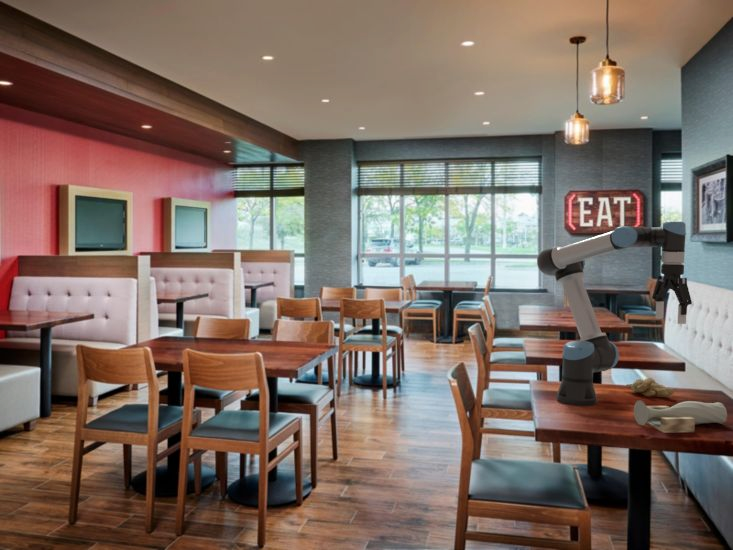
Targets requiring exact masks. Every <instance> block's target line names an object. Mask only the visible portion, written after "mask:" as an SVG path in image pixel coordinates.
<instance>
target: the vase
mask: <svg viewBox="0 0 733 550" xmlns="http://www.w3.org/2000/svg"><path fill="white" fill-rule="evenodd" d="M633 405H634V406H633V416H634V419H635V421H636V422H637V424H638V425H639V426H645V424H646V422H647V420H648V419H650V418H652V417H655V416H666V417H692V418H695V426H696V425H701V424H713V423H717V424H721V425H722V424H724V423H726V421H727V418H728V413H727V408H726V407H725V405H724V403H721V402H719V401H717V402H713V403H712V402H703V401H697V400H696V401H695V400H694V401H693V400H688V401H686V400H685V401H682V402H678V403H676V404H674V405H672V406H671V407H670V406H669V407H670V408H667V409H662V410H657V409H652V408H650V407H647V406H648V405H646V403H645V402H644V401H643V400H637V401H636V402H635V404H633Z"/></svg>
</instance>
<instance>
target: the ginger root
mask: <svg viewBox="0 0 733 550" xmlns="http://www.w3.org/2000/svg"><path fill="white" fill-rule="evenodd" d="M625 387H627V388H628V389H631V390H632V392H633V393H634V394H638V393H639V394H641V395H643V396H644V397H647V398H648V397H658V398H660V397H661V398H666V397H670V396H672V395H674V393H675V391H674V389H673V387H671V386H670V387H667V386H664V385H663V384H659V383H658V382H656V381H655V380H654V379H653V378H652V377H648V378H644V379H640V378H638V379H636V380H635V381H634V382H633V383H630V384H629V383H628V384H626V385H625Z"/></svg>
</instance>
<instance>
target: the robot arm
mask: <svg viewBox="0 0 733 550" xmlns="http://www.w3.org/2000/svg"><path fill="white" fill-rule="evenodd" d="M686 229H687V228H686V222H684V221H664V222H663V223H662V226H657V227H653V226H631V225H630V226H629V225H623V226H617V227H616V228H615V229H614V230H611V231H609V232H606V233H603V234H599V235H596V236H593V237H589V238H587V239H584V240H581V241H577V242H574V243H570V244H567V245H565V246H559V245H556V246H552V247H549V248H546V249H544V250H542V251H541V252H540V253H539V254H538V256H537V259H536V265H537V267H538V270H539V271H540V272H541V273H543V274H544V275H546V276H549V277H552V276H554V278H555V280H556V283H557V284H559V285H561V286H562V289H563V292H564V295H565V298H566V301H567V304H568V306H569V309H570V312H571V315H572V318H573V321H574V323H575V326H576V329H577V332H578V334H579V335H578V336H579V337H580V339H579V340H572V341H568V342H566V343H564V345H563V347H562V353H561V355H562V365H561V367H562V369H561V382H560V385H559V387H558V390H557V393H556V400H557V401H558V402H560V403H563V404H566V405H571V406H583V407H584V406H593V405H597V401H598V397H597V393H596V389H595V386H594V382H593V381H594V373H598V372H606V371H608V370H611V369H613V368H614V367H615V366H616V365H617V364H618V361H619V358H620V354H619V353H620V352H619V349H618V347H617V346H616V344H614V343H613V342H612V341H609V339H608V336H607V334H606V333H605V332H602V331H601V328H600V324H599V322H598V320H597V316H596V314H595V310H594V308H593V305H592V303H591V300H590V297H589V295H588V291H587V288H586V286H585V283H584V280H583V278H584V275H585V273H584V269H585V265H586V261H585V260H589V259H593V258H596V257H600V256H603V255H607V254H609V253H613V252H617V251H620V250H624V249H628V248H661V259H660V262H661V263H662V264H661V265H660V266H661V267H660V273H661V274H662V275H658V276H657V282H656V285H655V288H654V291H653V293H652V296H651V297H652V300H654V301H655V316H654V317H655V319H656V320H659V319H661V320H663V319H664V312H665V311H664V309H665V306H664V305H665V301H664V299H665V297H666V296H667V294H668V292H669V291H670V290H672V291H673V292H674V295H675V297H676V299H677V301H678V303H679V304H678V306H677V324H678V325H679V324H680V325H686V324H687V312H688V306H689V305H690V306H691V305H692V303H693V302H692V297H691V294H690V290H689V286H688V279H687V277H681V276H682V275H684V274H685V265H684V263H685V251H686V250H685V249H686V248H685V247H686V235H687V231H686Z"/></svg>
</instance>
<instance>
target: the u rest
mask: <svg viewBox="0 0 733 550" xmlns="http://www.w3.org/2000/svg"><path fill="white" fill-rule="evenodd" d="M646 406H647V407H650V408H652V409H657V410H662V409H667V408H670V406H668V405H646ZM645 424H646V425H648V426H651V427H652V428H654V429H655V430H657V431H659V432H661V433H664V434H667V433H668V434H670V433H673V434H674V433H675V434H676V433H695V426H696V425H695V418H692V417H666V416H655V417H652V418H650V419H648V420H647V422H646V423H645Z"/></svg>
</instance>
